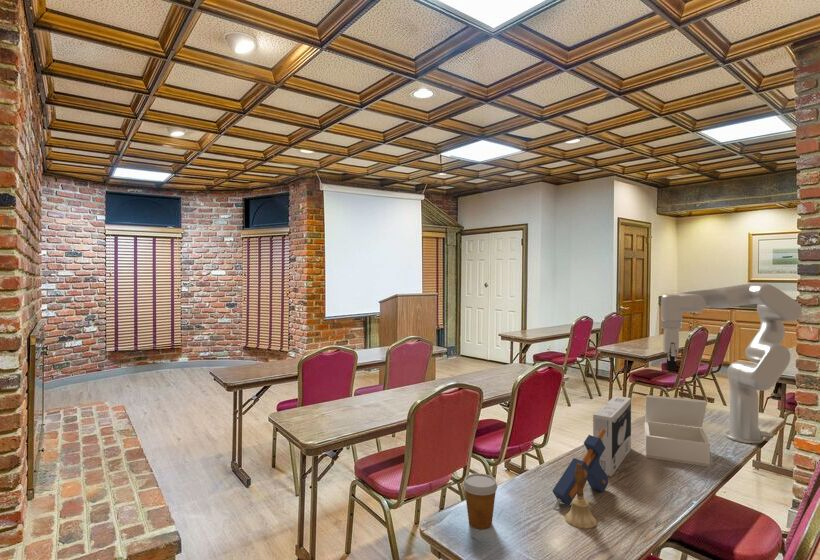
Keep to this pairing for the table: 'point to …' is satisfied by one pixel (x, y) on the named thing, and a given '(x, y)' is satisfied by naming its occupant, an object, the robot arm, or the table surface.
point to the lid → (675, 410)
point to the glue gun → (592, 470)
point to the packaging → (614, 432)
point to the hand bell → (580, 505)
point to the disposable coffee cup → (480, 499)
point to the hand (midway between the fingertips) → (671, 369)
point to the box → (677, 444)
